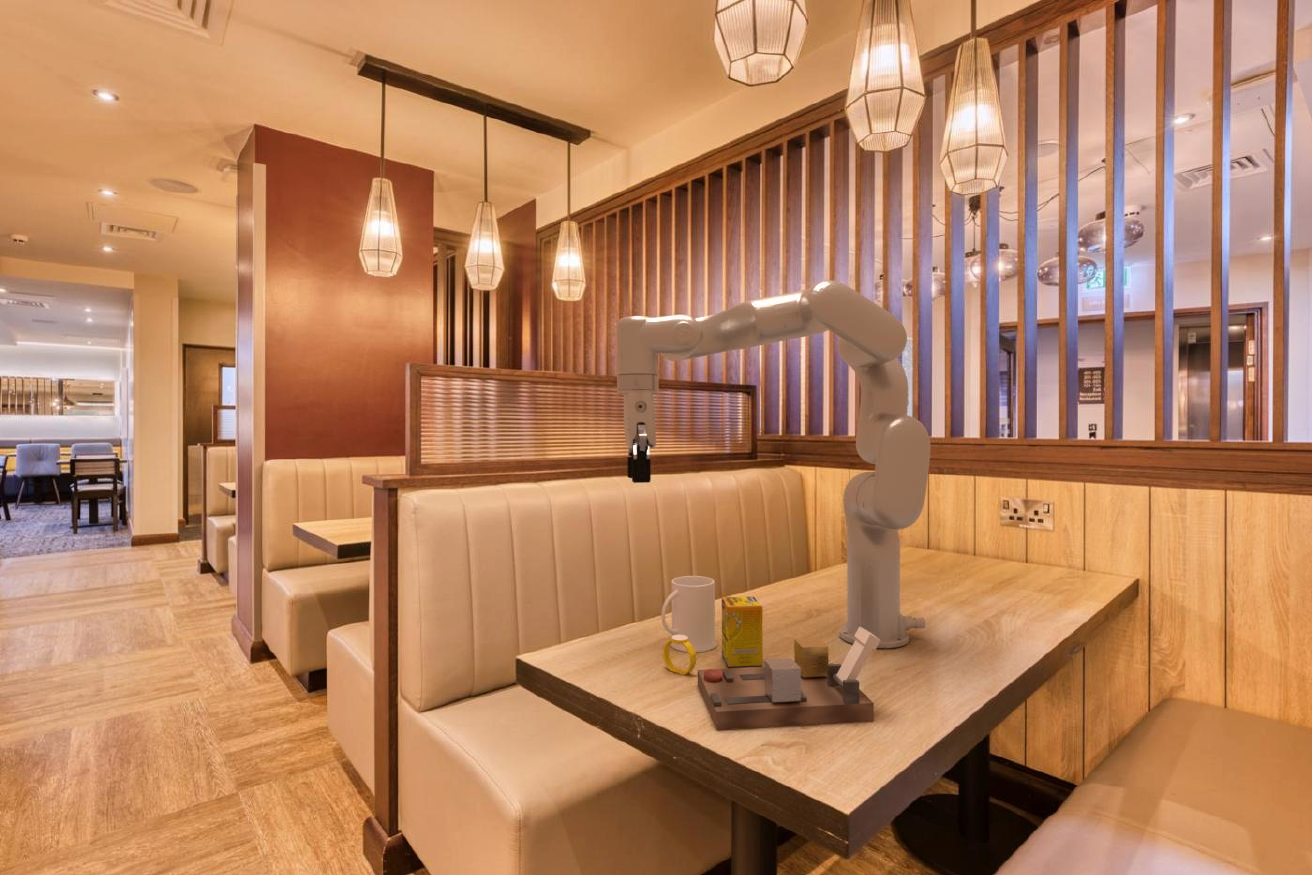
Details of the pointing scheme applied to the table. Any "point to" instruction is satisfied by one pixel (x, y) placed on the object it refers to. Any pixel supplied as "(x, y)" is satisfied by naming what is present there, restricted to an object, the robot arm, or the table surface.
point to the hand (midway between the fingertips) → (638, 480)
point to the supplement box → (741, 632)
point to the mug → (692, 612)
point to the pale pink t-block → (856, 656)
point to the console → (747, 705)
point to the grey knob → (782, 680)
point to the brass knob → (811, 656)
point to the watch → (684, 640)
